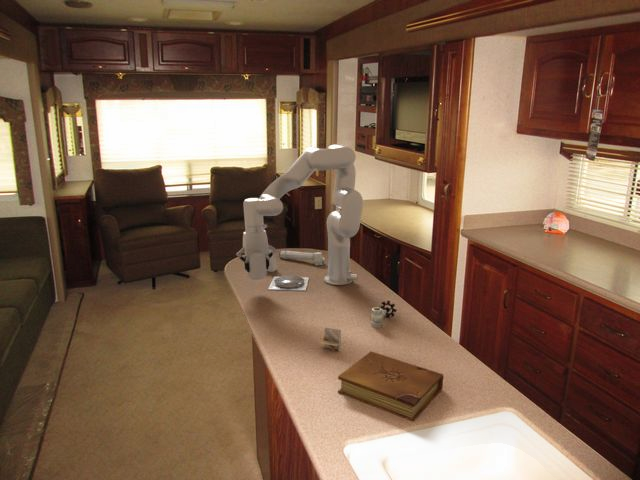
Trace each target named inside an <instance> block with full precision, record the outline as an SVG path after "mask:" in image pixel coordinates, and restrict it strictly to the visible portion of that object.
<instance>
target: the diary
mask: <svg viewBox="0 0 640 480" xmlns="http://www.w3.org/2000/svg"><path fill="white" fill-rule="evenodd" d="M337 379H338V380H339V381H341V383H340V384H341V385H340V386H341V388H340V389H338V390H337V393H338V394H340V395H343V396H346V397H348V398H352V399H353V400H355V401H359V402H362V403H364V404H367V405H369V406H372V407H374V408H377V409H379V410H381V411H385V412H388V413H390V414H392V415H395V416H398V417H400V418H403V419H406V420H408V421H410V422H415V420H417V418H418V417H419V416H420V415H421V414H422V413H423V411H425V409H427V407H428V406H429V405H430V404H431V403H432V402H433V401H434V399H435V398H436V397H437V396H439V394H440V393H441V392H442V391H443V386H444V385H443V384H444V374H443V373H440V372H437V371H433V370H430V369H427V368H425V367H421V366H418V365H414V364H411V363H409V362H406V361H402V360H401V359H400V360H399V359H396V358H393V357H390V356H387V355H383V354H380V353H377V352H374V351H371V350H370V351H369V352H368V353H366V354H365V355H364V356H363V357H361V358H360V359H358V361H356V362H355V363H353V364H352V365H351V366H349V367H347V369H346V370H344V371H343V372H341V373H339V374H338V376H337Z"/></svg>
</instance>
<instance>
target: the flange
mask: <svg viewBox="0 0 640 480" xmlns="http://www.w3.org/2000/svg"><path fill="white" fill-rule="evenodd" d="M309 280H310V277H306V276H299V275H282V276H281V275H280V276H276V275H275V276H273V278H272V281H271V282H270V284H269V287H267V288H268V289H267V290H268V291H291V292H292V291H293V292H296V291H297V292H305V291H307V287H308V284H309Z"/></svg>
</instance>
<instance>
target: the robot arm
mask: <svg viewBox="0 0 640 480" xmlns="http://www.w3.org/2000/svg"><path fill="white" fill-rule="evenodd" d="M356 157H357V156H356V153H355V151H354V150H353V148H352V147H349V146H346V145H341V144H337V143H335V144H331V145H329V146H328V147H327V148H319V147H316V146H315V147H313V146H311V147H307V148H306V149H305V150H304V151H303V152H302V153H301V154H300V156H298V158H297V159H296V160H295V161H294V162H293V164H292V165H291V166H290V167H289V168H288V169H287V170H286V171H285V172H284V173H283V174H281V175H280V176H279V177H277V178H276V179H275V180H274V181H272V182H271V183H270V184H269V185H268V186H267V188H266V189H264V191H263V192H262V193H261V194H260V196H259V197H249V198H245V199H244V201H243V216H244V228H245V230H244V231H243V233H242V234H243V235H242V247H241V248H240V250H238V252H236V254H235V255H236V256H237V257H238V258H239V259H240V260H241V261H242V262H244V270H245V271H246V272H247V273H249V272H250V270H249V263H248V260H249V257H250V256H251V255H252V254H253V252H261V251H263V252H262V253H264V254H265V257H266V269H269V268H268V267H269V266H270V265H269V260H270V258H271V257H272V255H273V253H274V252H276V248H275V247H273V246H272V245H270V244H269V241H268V235H267V231H266V230H265V229H266V228H268V224H267V223H266V224H265V223H264V216H265V217H273V216H274V217H275V216H276V217H277V216H278V215H280V214H281V213H282V212H283V210H284V205H283V202H282V201H281V200H280V199H281V198H282V197H283V196H285V194H287V193H288V192H290V191H292V190H296V189H299V188H300V187H302V186H303V185H304V184H305V182H306V181H308V179H309V178H310V177H311V175H312V174H313V173H314V172H315V171H329V170H334V171H335V180H334V181H335V182H334V187H333V188H334V189H333V195H332V203H333V204H334V206H335V207H337V208H339V209H340V210H333V211H331V212H330V213H329V214H328V216H327V218H326V228H327V229H326V230H327V239H328V240H327V241H328V242H327V245H328V246H327V249H328V250H327V257H328V258H327V275H325V276H324V282H325V283H327V284H329V285H335V286H344V285H349V284H351V283H353V281H358V278H359V277H358V274H355V273H354V274H353V273H352V270H351V269H350V261H351V259H350V256H351V255H350V254H351V253H350V252H351V251H350V247H351V238H353V237H355V236H356V235H357V233H358V232H359V229H360V225H361V221H362V220H361V219H362V213H363V207H364V201H363V196H362V194H361V193H360V192H359V191H358V190H356V189H355V187H356V176H357V173H356V172H357V171H356V167H355V164H354V163H355V161H356ZM269 250H271V251H270V252H269ZM268 253H269V254H268ZM242 254H243V255H244V256H242Z"/></svg>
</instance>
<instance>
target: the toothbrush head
mask: <svg viewBox="0 0 640 480" xmlns="http://www.w3.org/2000/svg"><path fill="white" fill-rule="evenodd" d="M278 257H279V258H280V259H284V260H291V259H292V260H312V262H313V265H314V266H324V265H325V261H326V259H325V257H324V256H323V253H322V252H321V251H320V252H318V251H317V252H306V251H305V252H302V251H292V250H287V249H286V250H281V251H279V253H278Z"/></svg>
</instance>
